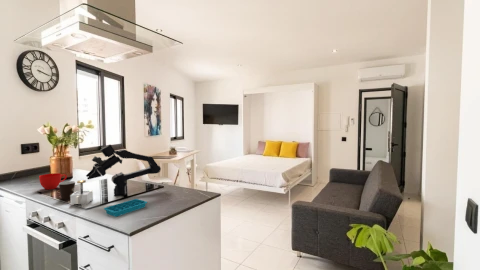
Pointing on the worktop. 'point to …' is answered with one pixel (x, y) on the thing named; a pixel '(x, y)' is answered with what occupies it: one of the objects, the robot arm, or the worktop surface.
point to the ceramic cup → (51, 180)
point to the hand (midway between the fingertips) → (86, 177)
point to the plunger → (81, 187)
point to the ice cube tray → (125, 207)
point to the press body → (81, 198)
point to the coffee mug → (66, 189)
